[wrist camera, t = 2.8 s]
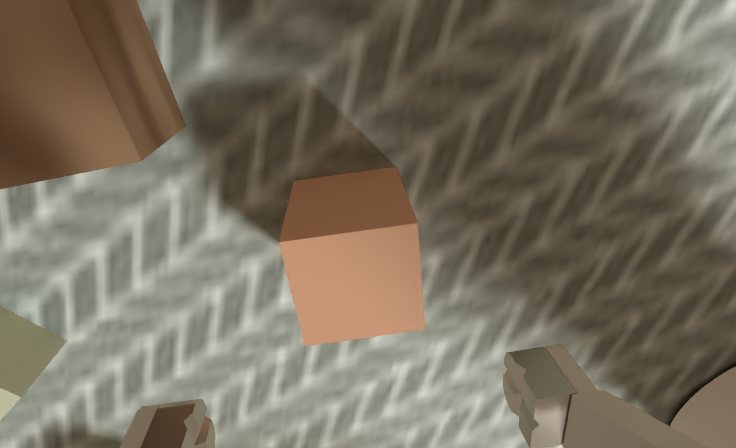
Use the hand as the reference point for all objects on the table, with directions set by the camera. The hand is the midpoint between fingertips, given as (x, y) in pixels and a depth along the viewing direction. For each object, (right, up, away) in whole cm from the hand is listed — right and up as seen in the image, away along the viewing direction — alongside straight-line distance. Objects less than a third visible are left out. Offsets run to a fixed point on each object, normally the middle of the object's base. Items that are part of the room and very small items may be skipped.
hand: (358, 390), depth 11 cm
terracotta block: (-1, +5, +10) cm, 11 cm away
